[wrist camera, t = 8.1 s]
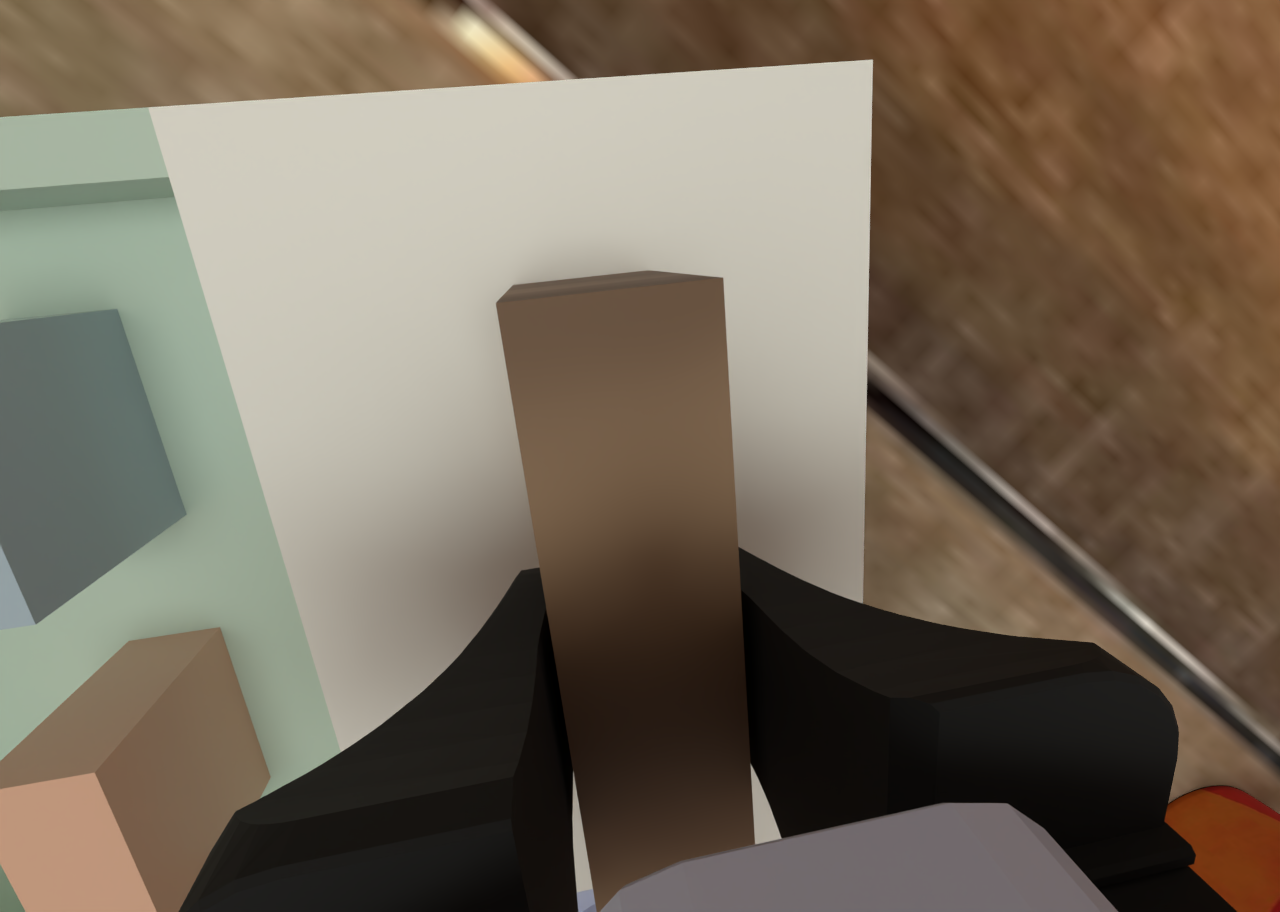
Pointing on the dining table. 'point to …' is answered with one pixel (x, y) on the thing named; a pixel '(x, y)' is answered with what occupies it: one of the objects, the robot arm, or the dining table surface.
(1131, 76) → the dining table surface
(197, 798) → the tile
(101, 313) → the tile
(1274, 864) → the paper cup
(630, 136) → the bench
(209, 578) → the tray
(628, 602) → the bar
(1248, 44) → the dining table surface
